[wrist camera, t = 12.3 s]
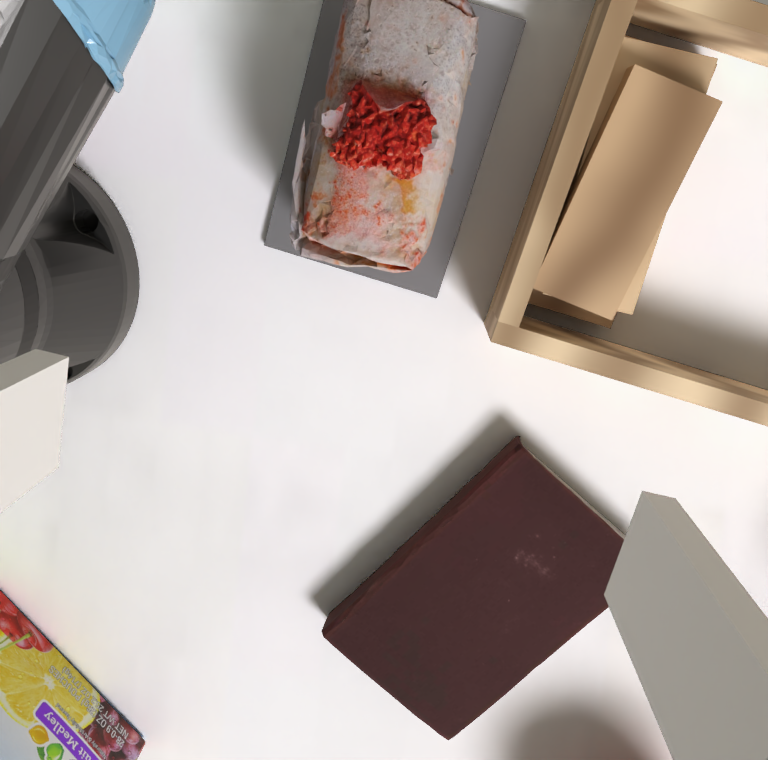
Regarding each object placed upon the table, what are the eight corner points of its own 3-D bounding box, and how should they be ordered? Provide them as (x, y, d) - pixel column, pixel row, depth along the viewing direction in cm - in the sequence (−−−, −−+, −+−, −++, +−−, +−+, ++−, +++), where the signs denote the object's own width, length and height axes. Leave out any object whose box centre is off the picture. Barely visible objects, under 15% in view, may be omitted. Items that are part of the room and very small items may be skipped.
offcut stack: (513, 295, 43) (523, 309, 38) (605, 36, 38) (628, 18, 34) (609, 324, 43) (630, 341, 38) (711, 70, 38) (748, 56, 34)
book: (324, 609, 50) (317, 638, 47) (515, 428, 46) (521, 446, 42) (449, 710, 52) (451, 745, 49) (646, 546, 47) (661, 572, 44)
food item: (430, 269, 42) (430, 295, 33) (301, 242, 42) (264, 261, 33) (483, 24, 38) (501, -26, 29) (341, -5, 38) (312, -65, 29)
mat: (265, 244, 43) (264, 245, 42) (334, -39, 38) (333, -41, 38) (436, 297, 43) (436, 298, 42) (525, 21, 38) (526, 20, 38)
